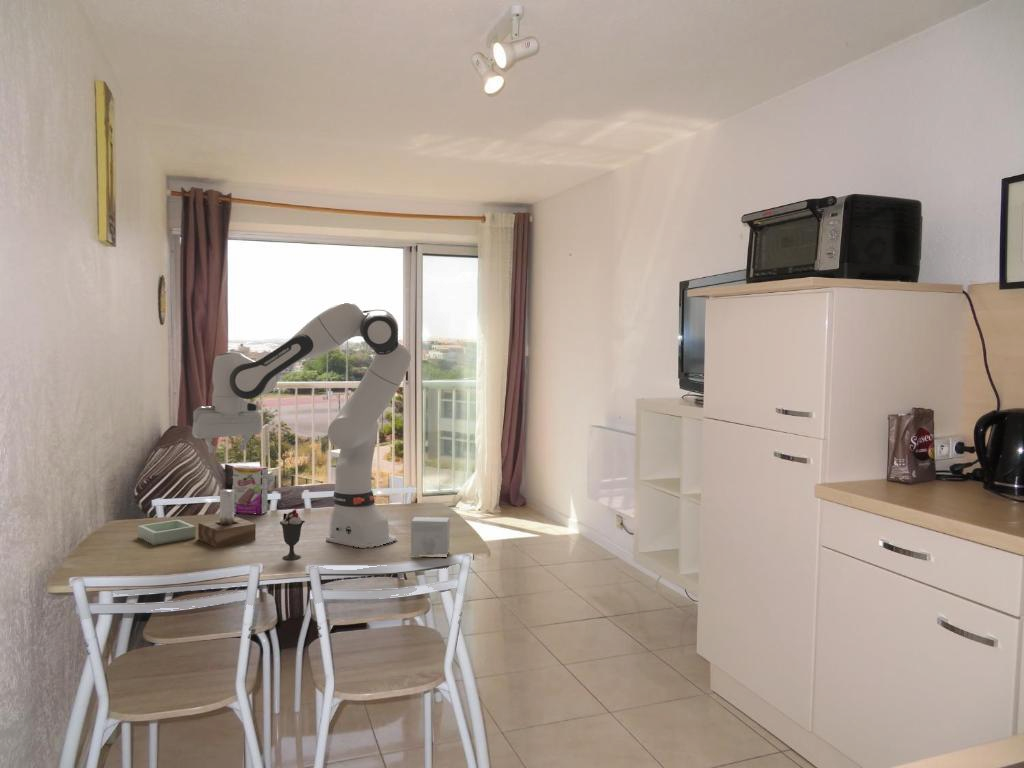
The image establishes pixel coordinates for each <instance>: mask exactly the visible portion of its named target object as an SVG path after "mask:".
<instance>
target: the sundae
mask: <svg viewBox="0 0 1024 768" xmlns="http://www.w3.org/2000/svg"><path fill="white" fill-rule="evenodd" d="M299 507H300V505H298V504H297V506H296V507H295V508H294V509H293V510H292V511H290V512H288V513H283V518H282V520H281V521H279V524H280V525H281V527H282V533H283V541H284V543H285V544H286V545H288V547H289V552H288V554H287V555H284V556H283V557H282V559H283V561H297V560H299V558H300V559H301V558H302V556H301V555H299V554H296V553H295V546H296V545H297V544H298V542H300V537H301V532H302V526H303V524H304V523H305V520H302V519H301V517H300V516H299V513H298V512H297V509H298V508H299Z"/></svg>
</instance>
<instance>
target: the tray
mask: <svg viewBox="0 0 1024 768" xmlns="http://www.w3.org/2000/svg"><path fill="white" fill-rule="evenodd" d="M196 527H197V526H195V525H193V524H191V523H188V522H186V521H184V520H181V519H173V520H168V521H167V520H166V521H161V522H160V521H159V522H153V523H152V522H151V523H148V524H141V525H138V527H137V533H138V534H137V536H138V537H140V538H142V539H144V540H145V542H146V541H147V543H148V542H149V544H150V543H151V545H153V546H158V544H159V545H164V543H165V544H168V543H175V542H180V541H187V540H191V539H196ZM138 537H137V538H138ZM140 538H139V539H140ZM142 539H141V540H142ZM144 540H143V541H144Z"/></svg>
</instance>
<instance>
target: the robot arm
mask: <svg viewBox="0 0 1024 768" xmlns="http://www.w3.org/2000/svg"><path fill="white" fill-rule="evenodd" d="M354 337H361V338H362V339H363V340H364V342H365V343H366V345H367V346H369V348H371V349H372V350H373V351H374V353H375V354H374V356H373V359H372V361H371V363H370V365H369V366H368V368H367V370H366V371H365V373H364V374H363V376H362V378H361V380H360V382H359V383H358V385H357V387H356V389H355V391H354V392H353V393H352V395H350V397H349V399H348V400H347V401H346V402H345V403H344V405H343V407H341V409H340V411H339V412H338V414H337V415H336V417H335V418H334V419H333V420H332V422H331V423H330V424H329V426H328V429H327V437H328V440H329V442H330V443H331V445H332V446H334V447H336V448H337V449H340V450H339V455H338V459H337V462H336V464H335V478H334V479H335V481H334V484H335V489H334V492H333V504H334V507H333V509H332V510H331V512H330V521H329V530H328V531H329V532H328V535H326V537H325V538H326V539H325V541H326V542H330V543H335V544H340V545H344V546H349V547H353V546H354V548H358V547H359V549H368V548H367V547H369V548H375V547H374V546H376V547H380V545H381V546H384V545H383V544H386V543H389V542H392V541H394V540H396V539H397V536H395V535H393V534H391V533H390V528H389V527H390V526H389V522H388V518H387V517H386V516H384V515H383V513H382V511H380V509H379V508H378V507H377V505H376V504H375V503H376V498H377V495H374V493H373V490H372V475H373V474H372V473H373V471H372V470H373V460H374V455H375V454H374V453H375V450H376V449H375V448H376V442H377V435H378V431H379V422H378V420H379V419H380V417H381V415H382V414H383V413H384V412H385V410H386V409H387V408H388V407H389V405H390V404H391V402H392V400H393V398H394V396H395V394H396V393H397V391H398V389H399V388H400V385H401V384H402V382H403V381H404V378H405V376H406V375H407V372H408V369H409V367H410V363H411V360H412V358H411V357H412V355H411V353H410V351H409V350H408V348H407V347H406V346H404V345H403V344H401V343H400V342H399V325H398V321H397V320H396V317H395V316H394V315H393V314H392V313H390V311H388V310H384V309H372V310H371V309H369V310H363V311H362V310H361V308H360V307H359V306H358V305H357V304H356V303H354V302H351V301H348V300H346V301H345V300H344V301H342V302H340V303H337V304H335V305H333V306H331V307H329V308H328V309H326V310H324V311H322V312H321V313H319V314H318V315H317V316H315V317H313V318H312V319H311V320H310V321H309V322H308V323H306V324H305V325H304V326H303V327H302V328H301V329H300V330H298V331H297V333H295V334H294V335H293V336H292V337H291V338H289V339H288V340H287V341H286V342H285V343H283V344H281V345H280V346H279V347H277V348H276V349H274V350H272V351H271V352H270V353H267V355H265V356H264V357H262V358H260V359H259V360H256V361H255V360H253V359H251V358H250V357H247V356H246V355H245V354H243V353H242V352H240V351H231V352H229V351H228V352H223V353H220V354H218V355H217V356H215V358H214V362H213V367H212V385H213V391H212V396H211V397H212V398H211V400H212V401H211V402H212V403H211V406H198V407H196V409H194V410H193V412H192V413H193V414H192V419H193V422H192V431H191V435H192V436H193V437H194V439H200V440H201V439H204V442H205V444H206V445H207V447H208V448H207V451H208V454H214V453H216V452H217V447H216V446H214V445H213V443H212V442H213V439H214V438H228V437H240V436H241V437H242V439H243V440H242V442H241V443H238V451H246V450H247V444H248V443H249V442H250V440H251V436H257V435H260V433H261V432H262V416H261V414H260V412H259V411H260V409H261V408H260V407H261V406H260V405H259V403H254V402H252V401H249V400H251V399H255V398H257V397H260V396H264V395H268V394H269V393H271V392H272V391H273V390H274V389H275V388H276V386H277V383H278V375H279V374H280V373H282V372H284V371H285V370H287V369H288V368H290V367H291V366H293V365H294V364H297V363H298V362H301V361H303V360H308V359H312V358H317V357H320V356H324V355H326V354H328V353H331V352H332V351H333V350H335V349H337V348H338V347H340V346H342V345H343V344H344V343H345V342H347V341H348V340H350V339H352V338H354ZM396 541H397V540H396ZM392 543H393V542H392ZM389 544H390V543H389ZM386 545H387V544H386Z"/></svg>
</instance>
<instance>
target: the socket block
mask: <svg viewBox="0 0 1024 768" xmlns="http://www.w3.org/2000/svg"><path fill="white" fill-rule="evenodd" d="M197 523H198V536H197V537H198V540H199V541H201V542H203V541H204V542H203V543H207V544H208V545H210V544H211V546H213V547H215V548H220V547H221V548H222V547H225V546H231V545H235V544H236V545H237V544H241V543H247V542H251V541H256V534H257V531H256V528H257V527H256V523H255V522H252V521H250V520H247V519H244V518H241V517H238V516H234V524H233V525H227V526H220V519H214V520H209V521H203V522H202V521H201V522H197Z"/></svg>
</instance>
